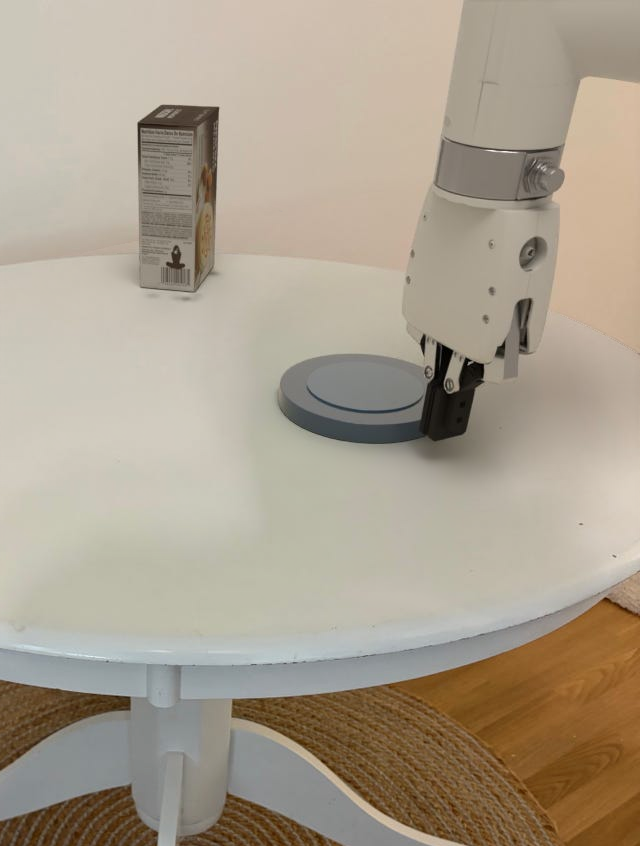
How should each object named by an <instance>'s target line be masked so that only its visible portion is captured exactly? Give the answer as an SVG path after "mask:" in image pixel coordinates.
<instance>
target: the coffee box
mask: <svg viewBox="0 0 640 846" xmlns="http://www.w3.org/2000/svg"><path fill="white" fill-rule="evenodd" d="M219 118H220V107H219V106H209V105H208V106H207V105H206V106H203V105H187V104H186V105H184V104H160V105H159V106H157V107H156V108H155V109H154V110H152V111H151V112H149V113H148V114H146V115H145V116H143V118H142V119H140V120H139V121H137V123H136V125H137V126H136V127H137V132H136V133H137V185H138V186H137V190H138V191H137V192H138V195H137V196H138V247H139V248H138V249H139V250H138V251H139V252H138V253H139V254H138V257H139V258H138V259H139V260H138V261H139V286H140V287H141V288H145V289H157V290H158V289H160V290H167V291H169V290H171V291H179V292H192V293H195V292H197V290H198V289H199V287H200V285H201V284H202V283H203V281H204V280H205V278H206V277H207V276H208V274H209V273H210V272H211V270H212V269H213V267H214V266H215V252H216V251H215V249H216V218H217V185H218V157H219V156H218V153H219V125H220V123H219V122H220V121H219V120H220V119H219Z"/></svg>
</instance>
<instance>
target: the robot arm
mask: <svg viewBox="0 0 640 846" xmlns="http://www.w3.org/2000/svg"><path fill="white" fill-rule="evenodd" d="M457 31H458V32H457V38H456V42H455V43H456V44H455V50H454V57H453V62H452V66H451V67H452V68H451V74H450V80H449V85H448V91H447V98H446V103H445V108H444V109H445V110H444V116H443V123H442V127H441V133H440V136H439V137H440V138H439V144H438V149H437V156H436V162H435V167H434V174H433V179H432V181H430V184H429V187H428V190H427V192H426V195H425V198H424V200H423V203H422V207H421V210H420V213H419V217H418V221H417V224H416V228H415V232H414V236H413V239H412V244H411V248H410V252H409V256H408V257H409V258H408V262H407V266H406V272H405V278H404V283H403V292H402V298H401V299H402V300H401V313H402V317H403V318H404V320H405V321H406V322H407V323H406V332H407V333H408V335H409V336H410V337H411V338H412V339H413V340H414V341H415V342H416V343H417V344H418V345H420V350H421V352H422V355H423V366H422V367H423V375H424V377H425V379H426V380H427V381H430V383H428V384H427V389H426V394H425V400H424V405H423V410H422V416H421V421H420V426H419V431H420V432H421V433H422V434H424V435H425V436H427V438H428V439H430V440H431V441H433V442H439V441H443V440H447V439H451V438H455V437H461V436H463V435H464V434H465V433H466V432H467V429H468V425H469V421H470V416H471V411H472V407H473V402H474V398H475V394H476V389H478V388H482V387H483V386H484V385H485V384H486V383H489V384H495V385H502V384H507V383H512V382H515V381H516V380H517V378H518V371H519V358H520V357H519V356H520V355H524V356H528V355H532V354H535V353H536V352H537V350H538V349H539V346H540V344H541V341H542V338H543V333H544V330H545V325H546V321H547V316H548V311H549V306H550V302H551V296H552V290H553V285H554V279H555V272H556V267H557V258H558V252H559V251H558V249H559V242H560V241H559V240H560V227H561V226H560V225H561V223H560V222H561V221H560V220H561V217H560V216H561V211H560V209H561V207H560V206H561V205H560V203H558V202H556V201H554V200H553V196H554V193H555V192H557V191H559V190H560V188H561V187H562V186H563V184H564V182H565V179H566V178H565V177H566V175H565V171H564V170H563V169H562V168H560V167H561V163H562V159H563V154H564V151H565V146H566V141H567V137H568V134H569V129H570V125H571V120H572V116H573V112H574V108H575V103H576V101H577V97H578V93H579V89H580V84H581V80H584V78H588V77H591V78H592V77H593V78H600V79H609V80H615V81H621V82H627V83H631V84H632V83H634V84H638V85H640V0H463V2H462V9H461V14H460V20H459V26H458V30H457Z"/></svg>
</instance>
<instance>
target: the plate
mask: <svg viewBox="0 0 640 846" xmlns="http://www.w3.org/2000/svg"><path fill="white" fill-rule="evenodd" d="M423 367H424V366H422V365H420V364H416V363H413V362H410V361H407V360H404V359H400V358H395V357H391V356H385V355H380V354H379V355H378V354H371V353H370V354H369V353H334V354H327V355H320V356H315V357H311V358H307V359H304V360H302V361H300V362H298V363H295V364H294V365H291V366H290V367H289V368H288V369H287V370H285V371H284V372H283V374H282V376H281V377H280V381H279V391H278V406H279V408H280V410H281V411H282V413H283V415H284V416H286V418H288V420H290V421H291V422H292V423H294V424H296V425H297V426H299V427H301V428H302V429H304V430H307V431H308V432H312V433H314V434H317V435H320V436H323V437H327V438H331V439H335V440H340V441H344V442H353V443H361V444H363V443H364V444H391V443H400V442H406V441H412V440H415V439H419V438H422V437H425V436H426V435H424V434H422V433H421V432H420V431H419V426H420V421H421V416H422V410H423V405H424V400H425V394H426V389H427V384H428V383H430V381H427V380H426V379H425V377H424V375H423Z"/></svg>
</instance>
